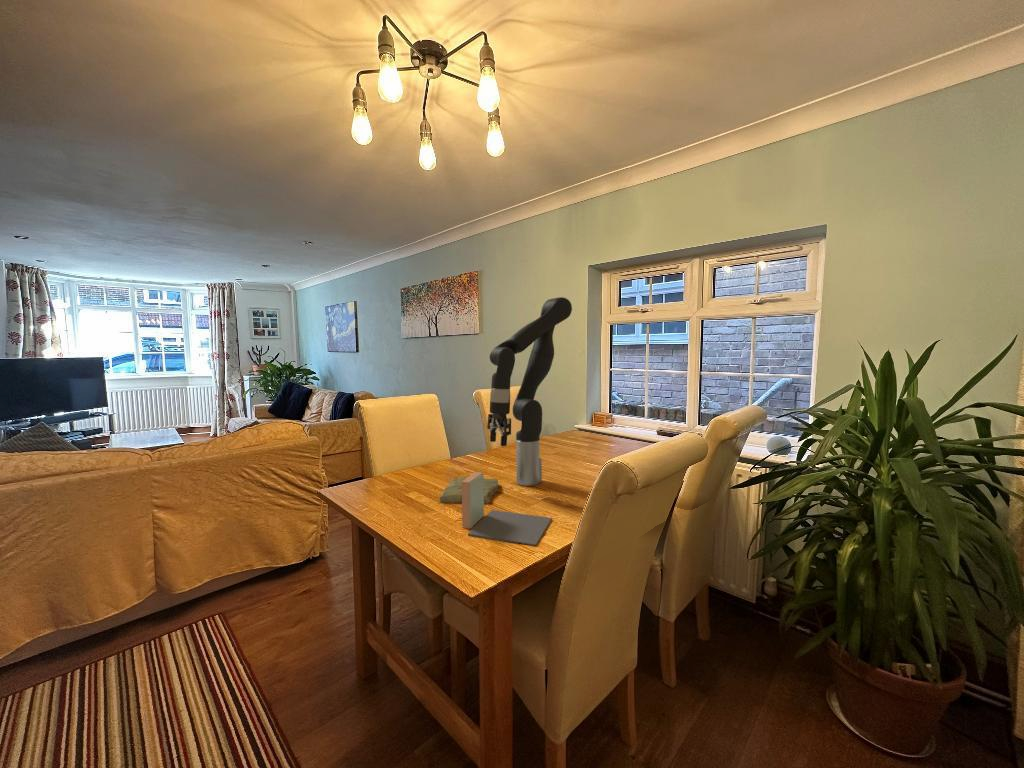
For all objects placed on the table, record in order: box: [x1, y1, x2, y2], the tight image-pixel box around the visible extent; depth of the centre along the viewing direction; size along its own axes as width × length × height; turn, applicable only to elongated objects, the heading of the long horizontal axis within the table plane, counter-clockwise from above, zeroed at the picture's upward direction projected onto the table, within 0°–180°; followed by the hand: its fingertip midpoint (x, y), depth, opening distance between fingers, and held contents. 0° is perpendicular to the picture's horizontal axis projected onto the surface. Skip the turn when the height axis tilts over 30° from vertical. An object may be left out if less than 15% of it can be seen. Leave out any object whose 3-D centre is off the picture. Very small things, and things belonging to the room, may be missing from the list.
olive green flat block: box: [439, 476, 500, 504], centre depth 148 cm, size 19×20×4 cm
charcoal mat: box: [467, 509, 553, 547], centre depth 119 cm, size 20×18×1 cm
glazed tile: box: [461, 471, 485, 530], centre depth 123 cm, size 3×10×14 cm, turn 160°
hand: (498, 443), depth 151 cm, fingers open, 8 cm apart
